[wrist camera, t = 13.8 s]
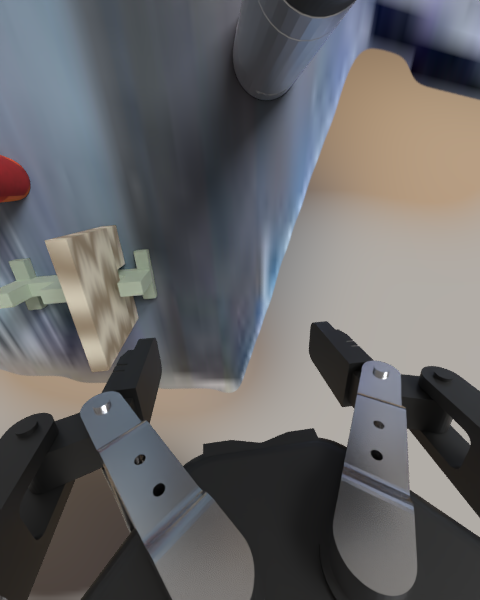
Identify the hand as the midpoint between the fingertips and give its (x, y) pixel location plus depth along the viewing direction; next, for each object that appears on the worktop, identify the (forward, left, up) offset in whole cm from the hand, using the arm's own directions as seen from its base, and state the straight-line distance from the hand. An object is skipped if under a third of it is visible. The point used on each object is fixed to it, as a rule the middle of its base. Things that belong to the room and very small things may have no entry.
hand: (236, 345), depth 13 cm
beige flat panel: (+4, -16, -31) cm, 35 cm away
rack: (+4, -21, -31) cm, 38 cm away
